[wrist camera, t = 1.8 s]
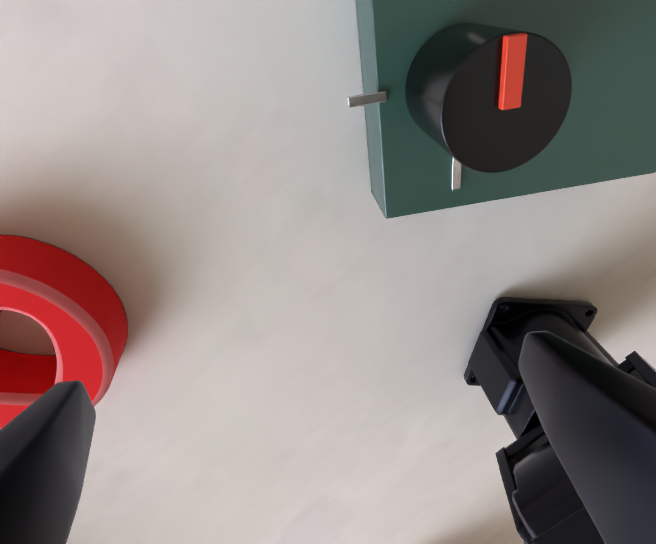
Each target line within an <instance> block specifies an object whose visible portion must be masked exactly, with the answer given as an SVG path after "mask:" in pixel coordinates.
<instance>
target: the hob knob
mask: <svg viewBox="0 0 656 544" xmlns="http://www.w3.org/2000/svg"><path fill="white" fill-rule="evenodd" d="M571 95H572V78H571V72H570V68H569V65H568V62H567V60H566V58H565V56H564V54H563V53H562V52H561V50H560V49H559V48H558V47H557V46H556V45H555V44H554V43H553V42H552V41H550V40H549V39H547V38H546V37H544V36H541V35H539V34H536V33H532V32H526V31H520V30H514V29H508V28H502V27H496V26H490V25H483V24H477V23H459V24H454V25H451V26H448V27H446V28H444V29H442V30H440V31H438V32H437V33H436V34H434V35H433V36H431V37H430V38H429V39H428V40H427V41H426V42H425V43H424V44H423V45H422V47H421V48H420V49H419V51H418V52H417V54H416V55H415V57H414V59H413V61H412V63H411V65H410V68H409V70H408V74H407V78H406V85H405V97H406V103H407V108H408V110H409V113H410V115H411V117H412V119H413V120H414V122H415V123H416V124H417V126H418V127H419V128H420V129H421V130H423V131H424V132H425V133H426V134H427V135H428V136H429V137H431V138H432V139H433V140H434V141H435V142H436V143H437V144H438V145H440V146H441V147H442V148H443V149H444V150H445V151H446V152H448V153H449V154H450V155H451V156H452V157H453V158H454V159H455V160H457V161H458V162H459V163H461V164H462V165H463V166H465V167H467V168H469V169H471V170H475V171H478V172H484V173H496V172H503V171H508V170H511V169H514V168H517V167H519V166H521V165H523V164H525V163H527V162H528V161H530V160H531V159H533V158H534V157H536V156H537V155H538V154H539V153H540V152H542V151H543V150H544V149H545V148H546V147H547V146H548V144H549V143H550V142H551V141H552V140H553V138H554V137H555V136H556V134H557V133H558V131H559V129H560V128H561V126H562V124H563V122H564V120H565V118H566V115H567V112H568V109H569V106H570V101H571Z"/></svg>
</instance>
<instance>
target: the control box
mask: <svg viewBox="0 0 656 544" xmlns="http://www.w3.org/2000/svg"><path fill="white" fill-rule="evenodd" d="M356 9H357V21H358V33H359V45H360V58H361V70H362V82H363V94H361V95H355V96H348V106H349V107H356V106H362V105H364V107H365V119H366V131H367V143H368V156H369V168H370V180H371V192H372V194H373V196H374V198H375V199H376V201H377V203H378V205H379V207H380V209H381V210H382V212H383V214H384V216H385V218H393V217H399V216H404V215H410V214H416V213H422V212H428V211H433V210H439V209H445V208H451V207H457V206H463V205H468V204H474V203H480V202H486V201H492V200H498V199H503V198H509V197H515V196H521V195H527V194H533V193H538V192H544V191H550V190H556V189H562V188H568V187H573V186H579V185H585V184H591V183H597V182H603V181H608V180H614V179H620V178H626V177H632V176H638V175H643V174H649V173H655V172H656V0H356ZM459 23H477V24H483V25H490V26H496V27H502V28H508V29H514V30H520V31H526V32H532V33H536V34H539V35H541V36H544V37H546V38H547V39H549V40H550V41H552V42H553V43H554V44H555V45H556V46H557V47H558V48H559V49H560V50H561V52H562V53H563V54H564V56H565V58H566V60H567V62H568V65H569V68H570V72H571V78H572V95H571V101H570V106H569V109H568V112H567V115H566V118H565V120H564V122H563V124H562V126H561V128H560V129H559V131H558V133H557V134H556V136H555V137H554V138H553V140H552V141H551V142H550V143H549V144H548V146H547V147H546V148H545V149H544V150H543V151H542V152H540V153H539V154H538V155H537V156H536V157H534V158H533V159H531V160H530V161H528V162H527V163H525V164H523V165H521V166H519V167H517V168H514V169H511V170H508V171H503V172H496V173H484V172H478V171H475V170H471V169H469V168H467V167H465V166H463V165H462V164H461V163H459V162H458V161H457V160H455V159H454V158H453V157H452V156H451V155H450V154H449V153H448V152H446V151H445V150H444V149H443V148H442V147H441V146H440V145H438V144H437V143H436V142H435V141H434V140H433V139H432V138H431V137H429V136H428V135H427V134H426V133H425V132H424V131H423V130H421V129H420V128H419V127H418V126H417V124H416V123H415V122H414V120H413V119H412V117H411V115H410V113H409V110H408V108H407V103H406V97H405V85H406V78H407V74H408V70H409V68H410V65H411V63H412V61H413V59H414V57H415V55H416V54H417V52H418V51H419V49H420V48H421V47H422V45H423V44H424V43H425V42H426V41H427V40H428V39H429V38H430V37H431V36H433V35H434V34H436V33H437V32H438V31H440V30H442V29H444V28H446V27H448V26H451V25H454V24H459Z"/></svg>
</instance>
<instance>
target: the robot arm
mask: <svg viewBox="0 0 656 544" xmlns="http://www.w3.org/2000/svg"><path fill="white" fill-rule="evenodd" d="M502 305H504V306H503V307H502V308H500V307H501V306H502ZM586 311H587V312H586ZM596 313H597V308H596V307H595V306H594V305H593V304H592V303H589V302H576V301H559V300H542V299H526V298H509V297H501V298H498V299H497V300H495V301H494V303H493V305H492V307H491V310H490V312H489V314H488V317H487V319H486V322H485V324H484V327H483V329H482V331H481V332H480V335H479V337H478V340H477V342H476V345H475V347H474V350H473V352H472V355H471V357H470V360H469V364H468V366H467V369H466V371H465V374H464V379H465V381H466V383H467V384H468V385H478V386H481V387H482V389H483V390H484V392H485V394H486V396H487V398H488V399H489V401H490V403H491V405H492V407H493V408H494V410H495V412H496V413H497V414H498V415H503V416H504V417H505V419H506V421H507V423H508V424H509V426H510V428H511V430H512V431H513V433H514V435H515V437H516V438H517V440H516V441H515V442H513V443H512V444H510V445H509V446H508V447H506V448H504V447H503V448H502V449H501V450H499V451H498V452H496V457H497V461H498V464H499V469H500V473H501V476H502V480H503V483H504V487H505V490H506V494H507V497H508V501H509V504H510V508H511V511H512V515H513V518H514V522H515V525H516V529H517V531H518V533H519V535H520V536H521V538H522V539H523V541H524V544H656V369H655V368H654V367H652V366H651V365H650V364H649V363H648V362H647V361H646V360H645V359H643V358H642V357H641V356H640V355H639V354H638V353H637V352H635V351H633V352H632V353H631V354H629V355H628V356H627V357H625V358H626V360H625V361H623V362H622V363H621V364H618V363H617V362H616V361H615V360H614V359H613V358H612V357H611V355H610V354H609V353H608V352H607V351H606V350H605V349H604V348H603V347H602V346H601V345H600V344H599V343H598V342H597V341H596V340H595V339H594V338H593V337H592V335H591V334H590V333H589V332H588V331H587V330H588V328H589V326H590V324H591V322H592V321H593V319H594V317H595V315H596ZM472 377H473V378H472ZM95 418H96V415H95V409H94V406H93V404H92V402H91V399H90V397H89V395H88V392H87V390H86V388H85V385H84V384H83V383H82V382H81V381H79V380H73V381H64V382H59V383H56V384H55V385H54V386H52V387H51V388H50V389H49V390H47V391H46V392H45V393H44V394H43V395H41V396H40V397H39V398H38V399H37V400H35V401H34V402H33V403H32V404H31V405H29V406H28V407H27V408H26V409H25V410H23V411H22V412H21V413H20V414H18V415H17V416H16V417H15V418H14V419H12V420H11V421H10V422H9V423H8V424H6V425H5V426H4V427H3V428H2V429H0V544H66V542H67V539H68V536H69V532H70V529H71V526H72V523H73V520H74V516H75V513H76V510H77V506H78V503H79V499H80V496H81V491H82V487H83V482H84V477H85V472H86V467H87V461H88V456H89V451H90V446H91V441H92V436H93V430H94V425H95Z"/></svg>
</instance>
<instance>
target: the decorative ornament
mask: <svg viewBox="0 0 656 544" xmlns="http://www.w3.org/2000/svg"><path fill="white" fill-rule="evenodd" d="M2 310H11V311H16V312H19V313H22V314H24V315H27V316H29V317H31V318H32V319H34V320H35V321H37V322H38V323H39V324H40V325H41V326H42V327H43V328H44V329H45V330H46V331H47V333H48V335H49V336H50V338H51V340H52V343H53V345H54V348H55V352H56V356H46V355H30V354H22V353H16V352H11V351H6V350H2V349H0V429H2V428H3V427H4V426H5V425H6V424H8V423H9V422H10V421H11V420H12V419H14V418H15V417H16V416H17V415H18V414H20V413H21V412H22V411H23V410H25V409H26V408H27V407H28V406H29V405H31V404H32V403H33V402H34V401H35V400H37V399H38V398H39V397H40V396H41V395H43V394H44V393H45V392H46V391H47V390H49V389H50V388H51V387H52V386H54V385H55V384H56V383H59V382H64V381H73V380H79V381H81V382H82V383H83V384H84V385H85V388H86V390H87V392H88V395H89V397H90V399H91V402H92V404H93V406H95V405H96V404H97V403H98V402H99V401H100V400H101V399H102V398H103V396H104V395H105V393H106V392H107V390H108V388H109V386H110V384H111V381H112V379H113V376H114V373H115V371H116V368H117V365H118V363H119V360H120V358H121V355H122V352H123V350H124V347H125V344H126V340H127V334H128V325H127V318H126V314H125V310H124V307H123V305H122V302H121V300H120V298H119V297H118V295H117V294H116V292H115V291H114V289H113V288H112V287H111V286H110V285H109V283H108V282H107V281H106V280H105V279H104V278H103V277H102V276H101V275H100V274H99V273H97V272H96V271H95V270H94V269H93V268H91V267H90V266H89V265H87V264H86V263H85V262H83V261H82V260H80V259H79V258H77V257H75V256H73V255H72V254H70V253H68V252H66V251H64V250H61V249H59V248H57V247H55V246H52V245H49V244H46V243H43V242H40V241H37V240H33V239H29V238H24V237H18V236H10V235H0V312H1V311H2Z"/></svg>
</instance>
